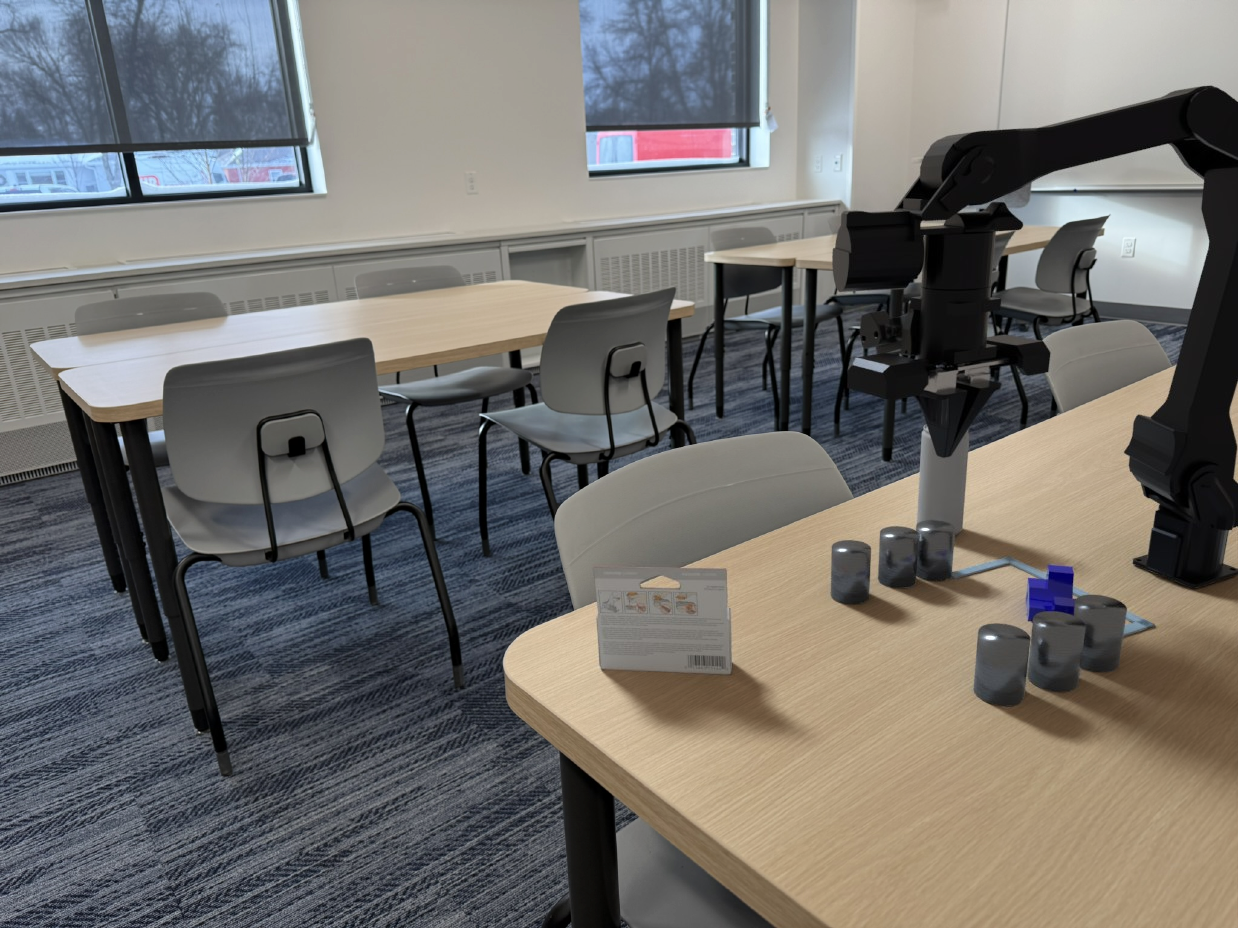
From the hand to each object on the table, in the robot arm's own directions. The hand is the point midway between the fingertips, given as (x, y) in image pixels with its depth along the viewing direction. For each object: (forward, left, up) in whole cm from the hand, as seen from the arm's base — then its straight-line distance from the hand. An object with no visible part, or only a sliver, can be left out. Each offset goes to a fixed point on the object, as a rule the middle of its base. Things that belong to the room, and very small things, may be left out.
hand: (943, 456), depth 79 cm
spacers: (+4, +7, -13) cm, 15 cm away
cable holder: (-3, +11, -14) cm, 17 cm away
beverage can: (-9, -10, -13) cm, 19 cm away
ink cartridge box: (+30, +1, -13) cm, 33 cm away
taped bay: (-6, +7, -13) cm, 16 cm away
